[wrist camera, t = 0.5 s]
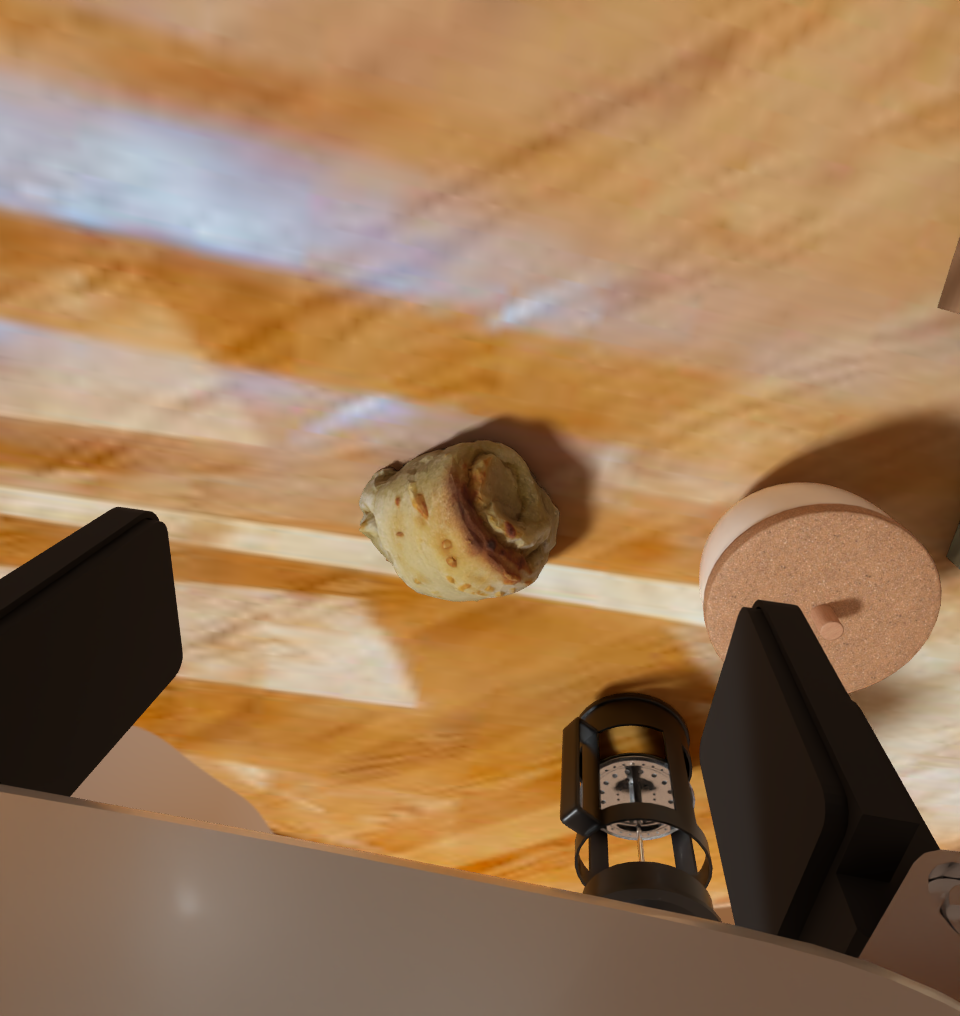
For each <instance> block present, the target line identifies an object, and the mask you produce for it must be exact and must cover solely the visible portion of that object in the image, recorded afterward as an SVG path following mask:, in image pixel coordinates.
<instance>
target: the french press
mask: <svg viewBox="0 0 960 1016" xmlns="http://www.w3.org/2000/svg"><path fill="white" fill-rule="evenodd" d="M629 725H630V726H643V727H648V728H652V729H655V730H658V731H660V732H662V733H663V740H664V746H665V752H666V759H663V758H660V757H657V756H654V755H649V754H643V753H624V754H618V755H613V756H610V757H607V758H604V759H602V760H599V733H601V732H603V731H605V730H607V729H611V728H615V727H619V726H629ZM689 743H690V739H689V733H688V729H687V726H686V724H685V722H684V720H683V719H682V717H681V716H680V715H679V714H678V712H677V711H676V710H674V709H673V708H672V707H671V706H670V705H668V704H666V703H665V702H663V701H661V700H659V699H657V698H654V697H651V696H648V695H643V694H636V693H622V694H614V695H611V696H607V697H604V698H602V699H600V700H597V701H595V702H594V703H592V704H591V705H590V706H588V707H587V708H586V709H585V710H584V711H583V712H582V713H581V714H580V716H579V717H577V718H575V719H574V720H573V721H572V722H571V723H570V724H569V725H568V726H566V727H565V728H564V730H563V745H562V775H561V804H560V820H561V821H562V823H563V824H565V825H566V826H568V827H569V828H571V829H572V830H574V831H575V832H577V836H576V839H575V868H576V872H577V875H578V877H579V879H580V880H581V882H582V884H583V885H584V886H585V888H584V891H583V894H587V895H592V896H597V897H603V898H608V899H612V900H617V901H622V902H626V903H631V904H636V905H641V906H645V907H650V908H655V909H660V910H665V911H670V912H675V913H680V914H685V915H690V916H695V917H699V918H704V919H708V920H713V921H718V922H722V921H721V919H720V918H719V916H718V915H717V914H716V913H715V911H714V910H713V905H712V900H711V897H710V895H709V893H708V891H707V890H706V888H707V886H708V884H709V882H710V880H711V877H712V869H713V868H712V862H711V857H710V852H709V847H708V842H707V840H706V837H705V835H704V833H703V832H702V830H701V829H700V828H699V827H698V825H697V824H696V819H695V814H694V805H695V797H694V791H693V789H692V787H691V785H690V783H689V782H690V779H691V776H692V763H691V757H690V752H689ZM580 782H581V787H580ZM607 833H608V834H610V835H613V836H616V837H619V838H624V839H628V840H637V843H638V854H639V862H627V863H622V864H617V865H614V866H612V867H609V863H608V840H607ZM669 834H671V837H672V844H673V851H674V857H675V864H676V868H675V867H672V866H669V865H665V864H661V863H656V862H645V860H644V850H643V840H652V839H656V838H661V837H664V836H666V835H669ZM691 837H692V838H693V839H694V840H695V841H697V842H698V844H699V845H700V846H701V847H702V849H703V850H704V852H705V854H706V857H705V861H704V864H703V866H702V868H701V870H700V871H699V872H697V866H696V861H695V855H694V849H693V844H692V838H691ZM588 838H589V871H588V869H587V868H586V867H585V866H584V864H583V862H582V861H581V859H580V856H579V851H580V848H581V847H582V845H583V844H584V842H585V841H586V840H587V839H588Z"/></svg>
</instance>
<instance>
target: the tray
mask: <svg viewBox="0 0 960 1016" xmlns="http://www.w3.org/2000/svg"><path fill="white" fill-rule="evenodd" d="M947 558H948V559H949V560H950V561H951V562H953V563H954V564H955V565H956V566H957V567H958V568H959V569H960V522H959V525H958V528H957V530H956V533H955V535H954V538H953V541H952V543H951V546H950V549H949V551H948V554H947Z"/></svg>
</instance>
